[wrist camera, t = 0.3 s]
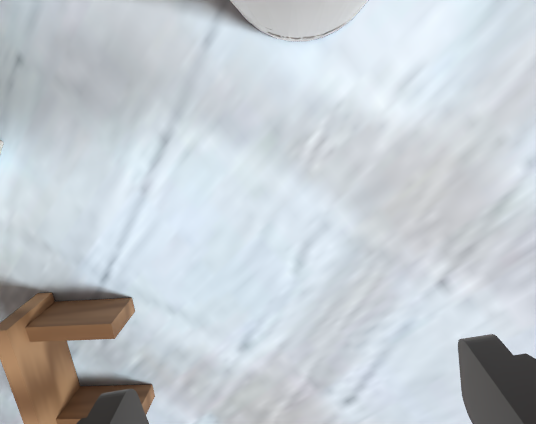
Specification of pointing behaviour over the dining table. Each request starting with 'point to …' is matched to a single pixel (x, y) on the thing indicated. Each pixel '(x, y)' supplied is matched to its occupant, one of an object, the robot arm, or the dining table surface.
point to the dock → (59, 356)
